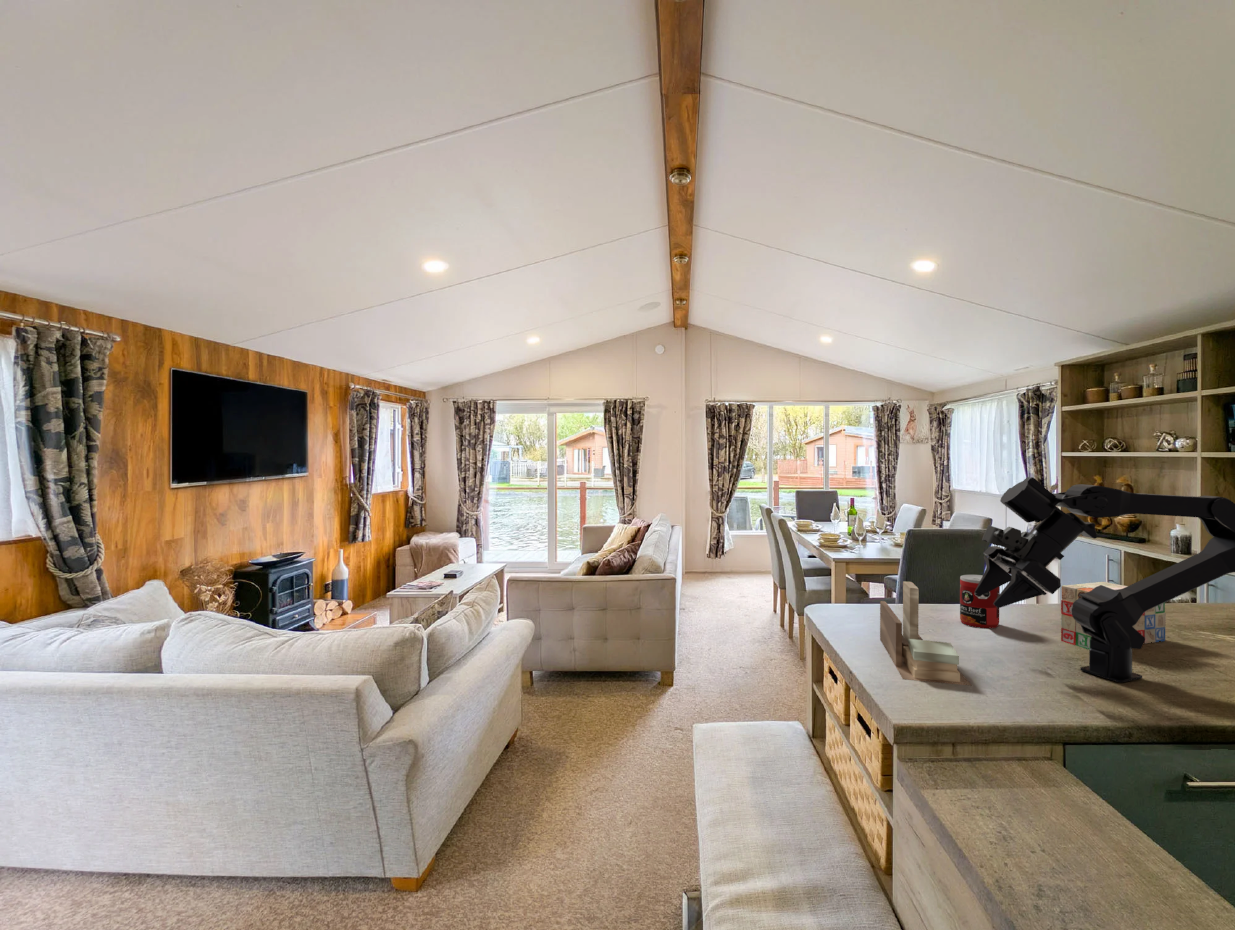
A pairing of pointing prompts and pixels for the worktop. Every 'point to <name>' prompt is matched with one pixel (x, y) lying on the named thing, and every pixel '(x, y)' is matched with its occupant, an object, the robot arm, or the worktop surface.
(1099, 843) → the worktop surface
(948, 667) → the offcut stack
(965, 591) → the canned food
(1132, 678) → the robot arm
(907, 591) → the birch board
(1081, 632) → the stack of blocks
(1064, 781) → the worktop surface
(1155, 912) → the worktop surface
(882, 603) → the offcut rack
